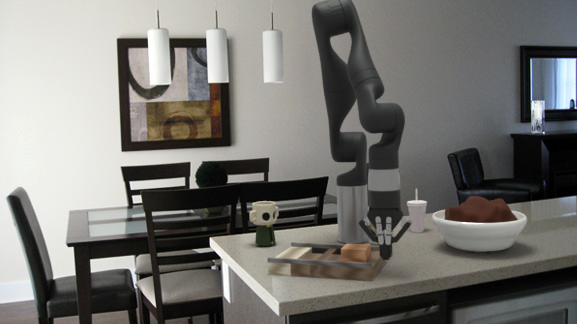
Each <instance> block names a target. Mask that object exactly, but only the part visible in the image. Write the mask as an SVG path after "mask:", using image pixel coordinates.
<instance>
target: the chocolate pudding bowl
mask: <svg viewBox="0 0 577 324" xmlns="http://www.w3.org/2000/svg"><path fill="white" fill-rule="evenodd" d="M431 221H432V223H433V225H434V227H435V228H436V229H437V230H438V232H439V233H441V235H442V237H443V240H444V242H445V243H446V244H447V245H448V246H450V247H452V248H454V249H458V250H463V251H467V250H468V252H472V251H475V252H474V253H488V252H487V251H490V252H498V251H504V250H506V249H509V248H511V247H513V244H514V243H515V241H516V238H517V237H518V235H519V234H520V233H521V232H522V231H523V230H524V229H525V227H526V225H527V223H528V216H526V214H524V213H522V212H519V211H516V210H511V208H510V206H509V205H508V204H507V203H506V201H504V199H503V198H495V199H492V200H489V199H487V198H485V197H483V196H478V195H477V196H476V195H471V196H468V198H466V200H465V202H462V203H460V204H459V205H457V206H448V207H446V208H445V209H441V210H438V211H436V212H433V214H432V216H431Z"/></svg>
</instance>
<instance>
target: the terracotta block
mask: <svg viewBox="0 0 577 324" xmlns="http://www.w3.org/2000/svg"><path fill="white" fill-rule="evenodd" d="M344 245H345V246H344V247H342V248H341V261H345V262H363V263H368V261H369V260H370V259H371V244H369V243H367V244H364V243H355V244H350V243H345V244H344Z"/></svg>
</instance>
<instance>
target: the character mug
mask: <svg viewBox="0 0 577 324" xmlns="http://www.w3.org/2000/svg"><path fill="white" fill-rule="evenodd" d="M251 206H252V210H250V211H249V222H251V223H253V224H254V225H255V226H256V225H257V226H256V228H255V229H256V231H255V241H254V242H255V245H259V246H261V247H263V246H264V247H265V246H266V247H268V246H271V244H272V245H275V244H276V234H275V228H274V226H273V225H274V224H275V223H276V222H277V219H278V217H279V207H278V206H277V205H276V202H275V201H271V200H269V201H267V200H263V201H260V200H259V201H256V202H252V203H251Z"/></svg>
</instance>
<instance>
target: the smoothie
mask: <svg viewBox="0 0 577 324" xmlns="http://www.w3.org/2000/svg"><path fill="white" fill-rule="evenodd" d="M427 205H428V202H427V200H420V199H419V200H418V188H415V199H413V200H408V201H406V206H407V209H408V214H409V220H410V221H412V224H411V226H410V228H411V232H412V233H417V234H418V233H419V234H420V233H423V232H424V230H425V222H426V221H425V219H426V209H427Z"/></svg>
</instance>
